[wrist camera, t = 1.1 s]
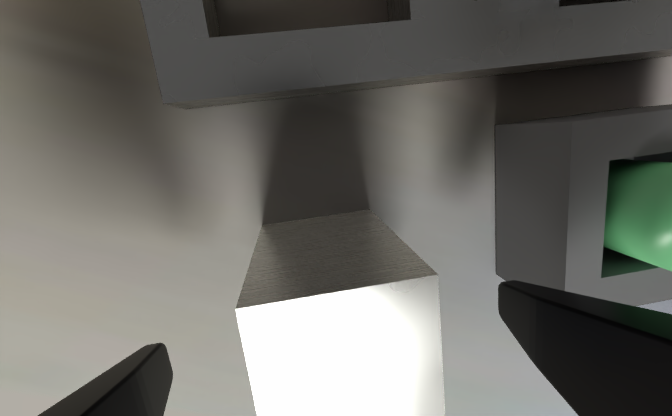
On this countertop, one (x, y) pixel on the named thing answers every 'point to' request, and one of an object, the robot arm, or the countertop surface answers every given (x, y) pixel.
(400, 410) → the block
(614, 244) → the button
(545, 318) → the robot arm
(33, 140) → the countertop surface
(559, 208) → the grey hollow square block
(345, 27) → the rectangular frame
